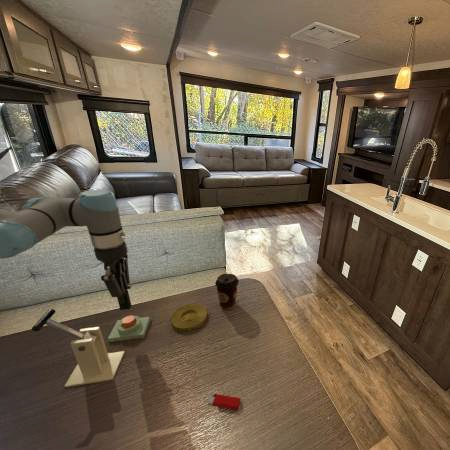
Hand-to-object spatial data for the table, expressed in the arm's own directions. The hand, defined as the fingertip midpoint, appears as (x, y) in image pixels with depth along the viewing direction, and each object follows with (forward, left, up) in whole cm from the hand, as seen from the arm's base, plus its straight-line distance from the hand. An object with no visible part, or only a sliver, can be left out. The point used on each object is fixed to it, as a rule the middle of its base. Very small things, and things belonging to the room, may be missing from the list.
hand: (126, 307), depth 80 cm
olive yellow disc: (+16, +9, -11) cm, 21 cm away
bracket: (+1, -14, -11) cm, 18 cm away
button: (0, 0, -7) cm, 7 cm away
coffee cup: (+26, +20, -11) cm, 34 cm away
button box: (0, 0, -11) cm, 11 cm away
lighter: (+40, -16, -11) cm, 44 cm away
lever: (-3, -16, +5) cm, 17 cm away
